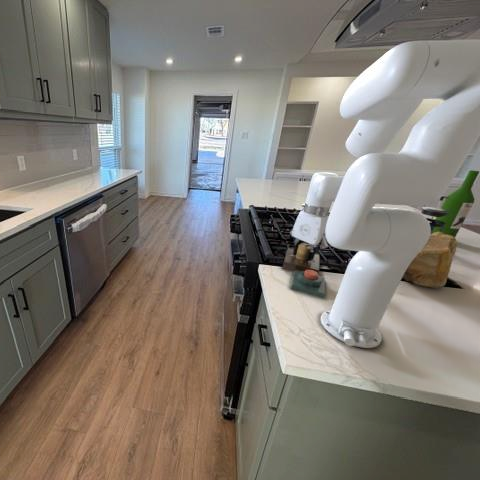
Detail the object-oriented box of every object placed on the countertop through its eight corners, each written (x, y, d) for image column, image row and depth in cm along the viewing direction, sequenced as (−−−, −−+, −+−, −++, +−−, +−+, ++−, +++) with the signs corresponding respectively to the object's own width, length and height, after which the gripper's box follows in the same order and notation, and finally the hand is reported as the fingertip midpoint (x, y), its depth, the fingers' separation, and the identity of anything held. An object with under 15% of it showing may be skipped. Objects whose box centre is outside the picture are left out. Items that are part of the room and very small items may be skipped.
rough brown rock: (388, 257, 104) (399, 223, 99) (447, 271, 92) (463, 232, 87) (374, 278, 91) (385, 239, 85) (441, 296, 79) (459, 253, 73)
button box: (323, 298, 76) (326, 288, 74) (290, 289, 80) (293, 279, 79) (323, 281, 85) (326, 272, 83) (293, 274, 89) (296, 265, 87)
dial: (303, 261, 91) (307, 248, 89) (292, 256, 94) (296, 243, 92) (311, 259, 93) (315, 246, 90) (301, 254, 96) (304, 241, 94)
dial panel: (316, 277, 87) (319, 270, 85) (281, 269, 92) (283, 261, 90) (317, 261, 98) (319, 254, 97) (286, 254, 103) (288, 247, 102)
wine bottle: (444, 243, 118) (481, 172, 105) (422, 236, 126) (454, 169, 113) (457, 242, 120) (495, 172, 107) (435, 234, 128) (468, 169, 115)
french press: (439, 248, 112) (465, 197, 103) (429, 252, 108) (456, 199, 99) (406, 238, 122) (428, 191, 113) (396, 241, 118) (418, 193, 109)
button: (316, 281, 79) (317, 276, 78) (303, 277, 80) (304, 273, 80) (316, 276, 82) (318, 271, 81) (304, 273, 83) (305, 268, 83)
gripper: (287, 204, 92) (276, 249, 99) (333, 218, 78) (316, 270, 85) (301, 202, 95) (290, 246, 102) (348, 216, 81) (331, 265, 88)
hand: (302, 256), depth 93 cm, fingers closed on dial, 4 cm apart
